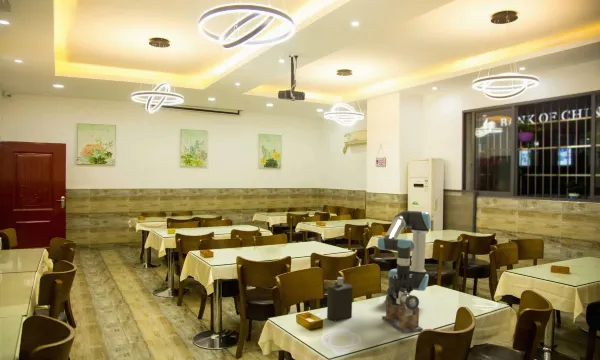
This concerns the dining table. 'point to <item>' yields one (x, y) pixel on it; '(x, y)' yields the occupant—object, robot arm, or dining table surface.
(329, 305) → the bottle
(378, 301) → the dining table surface
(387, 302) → the rack
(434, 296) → the dining table surface
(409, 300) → the dumbbell
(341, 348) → the dining table surface
